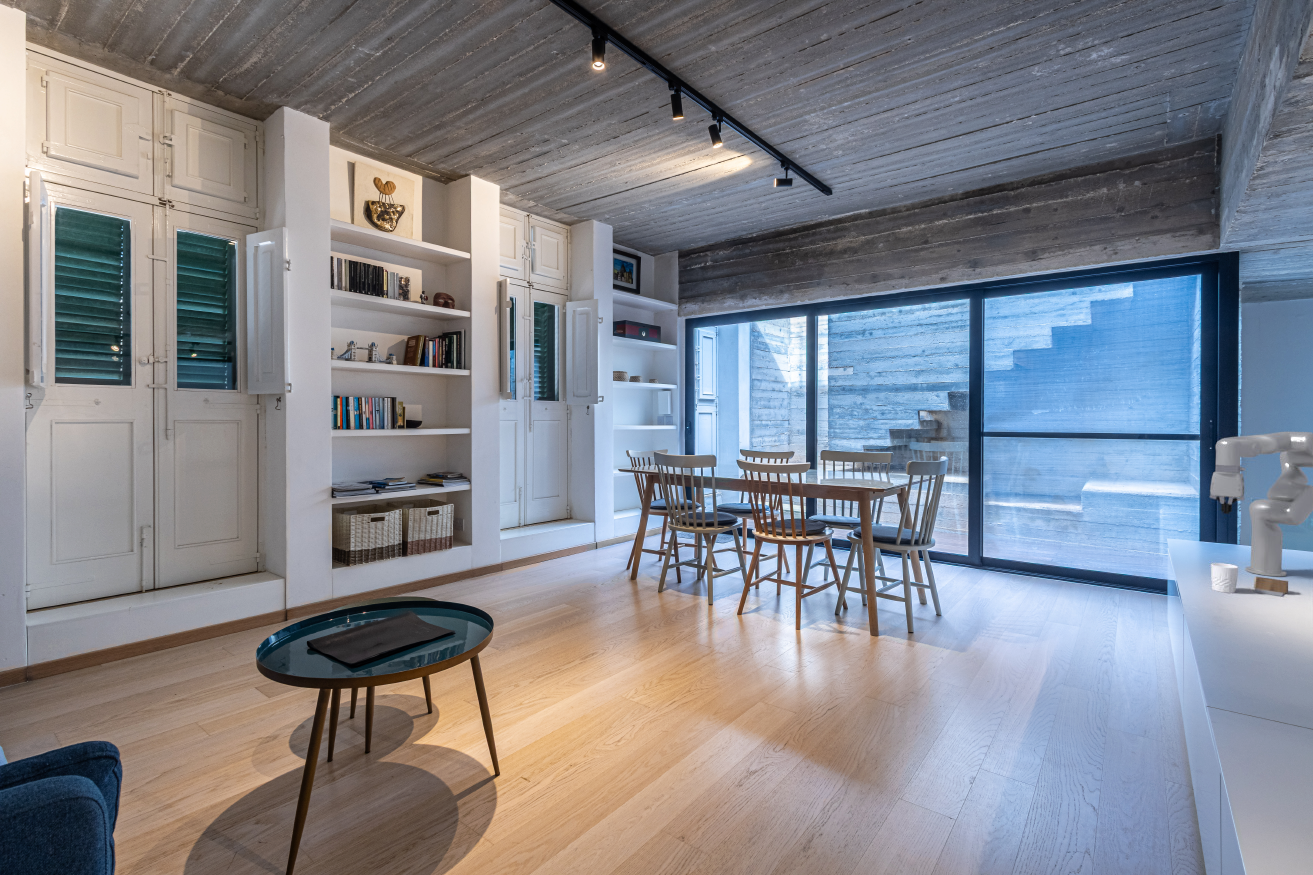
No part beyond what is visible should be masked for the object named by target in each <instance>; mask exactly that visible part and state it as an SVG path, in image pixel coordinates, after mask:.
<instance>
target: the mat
mask: <svg viewBox="0 0 1313 875" xmlns="http://www.w3.org/2000/svg"><path fill="white" fill-rule="evenodd" d="M1254 593H1255V594H1264V595H1271V596H1277V597H1283V596H1284V595H1285V593H1280V592H1274V591H1268V590H1261V589H1255V590H1254Z"/></svg>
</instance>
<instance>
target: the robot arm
mask: <svg viewBox="0 0 1313 875" xmlns="http://www.w3.org/2000/svg"><path fill="white" fill-rule="evenodd" d="M1277 453H1280V454H1279V462H1280V463H1279V464H1280V467H1281V473H1280V475H1279V476H1278V478H1277V480H1275V481H1274V483H1273V484H1272V485H1271V486H1270V487H1269V489H1268V490H1267V493H1266V498H1267V499H1265V498H1263V499H1260V498H1259V499H1255V500H1254V501H1252V502H1251V503H1250V504H1249V509H1248V512H1249V516H1250V523H1251V541H1250V543H1251V544H1250V566H1246V567H1245V571H1246V572H1248V573H1252V574H1256V575H1261V576H1267V577H1268V576H1269V577H1286V576H1287V572H1286V571H1285V570H1282V565H1283V564H1282V562H1283V539H1284V536H1283V531H1282V528H1281V527H1280V526H1279V525H1280V524H1281V525H1286V526H1299V525H1302V524H1303V523H1304V522H1305V521H1306V520H1307V519H1308V517H1309V516H1310V515H1311V514H1312V513H1313V485H1309V484H1308V481H1309V480H1308V477H1307V475H1306V474H1305V472H1304V471H1303V469H1302V468H1310V469H1313V432H1310V431H1279V432H1272V433H1271V432H1270V433H1266V434H1265V433H1263V434H1253V435H1243V436H1231V437H1224V438H1223V437H1222V438H1221V439H1220V440H1217V442H1216V444H1215V471H1214V472H1213V473H1212V476H1211V482H1210V490H1209V492H1210V494H1209V498H1210V499H1213V500H1216V501H1218V502H1219V503H1220V504H1221V506H1220V508H1221V510H1220V512H1222V514H1225V515H1228V514H1230V513H1232V508H1233V507H1232V504H1234V503H1236V502H1238V501H1239V502H1241V501H1244V500H1245V479H1244V478H1245V477H1244V474H1243V473H1242V472H1245V471H1246V467H1242V466H1241V458H1255V457H1257V456H1259V455H1272V454H1277ZM1226 498H1228V501H1227V502H1226Z"/></svg>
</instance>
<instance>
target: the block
mask: <svg viewBox="0 0 1313 875" xmlns="http://www.w3.org/2000/svg"><path fill="white" fill-rule="evenodd" d="M1253 588H1254V589H1255V590H1256V589H1261V590H1268V591H1274V592H1280V593H1284V594H1288V592H1289V581H1288V580H1282V579H1276V578H1269V577H1263V576H1255V577H1254V580H1253Z"/></svg>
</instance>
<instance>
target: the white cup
mask: <svg viewBox="0 0 1313 875" xmlns="http://www.w3.org/2000/svg"><path fill="white" fill-rule="evenodd" d="M1238 572H1239V566H1237V565H1234V564H1230V563H1223V562H1222V563H1221V562H1219V563H1218V562H1213V563H1211V564H1210V576H1211V577H1210V580H1211V589H1212V590H1213V591H1215V592H1218V593H1219V592H1220V593H1224V594H1225V593H1227V594H1235V593H1236V587H1237V584H1238V583H1237V582H1238Z"/></svg>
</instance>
